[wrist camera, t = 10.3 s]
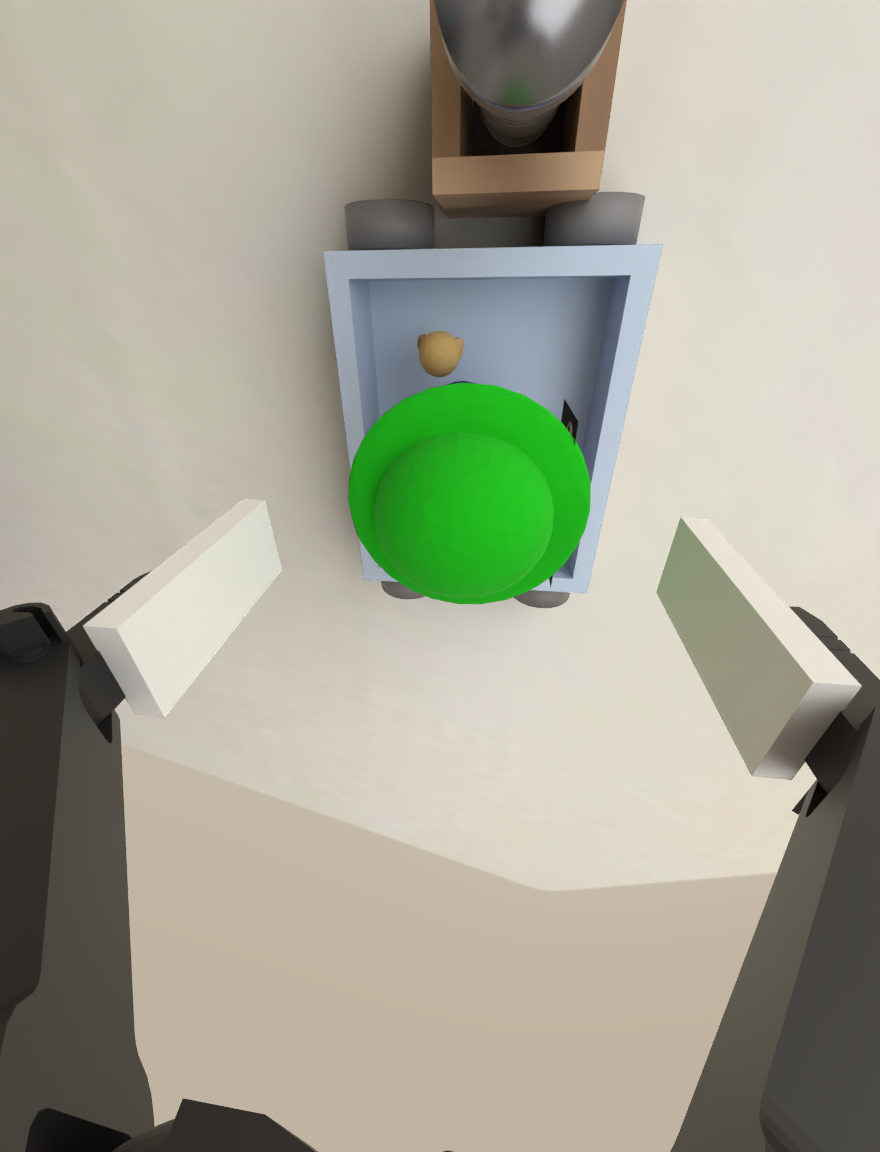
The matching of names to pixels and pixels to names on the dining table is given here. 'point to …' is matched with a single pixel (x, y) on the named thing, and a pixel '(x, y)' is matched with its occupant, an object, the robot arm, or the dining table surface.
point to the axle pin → (523, 56)
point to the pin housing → (518, 177)
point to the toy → (469, 487)
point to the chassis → (498, 331)
